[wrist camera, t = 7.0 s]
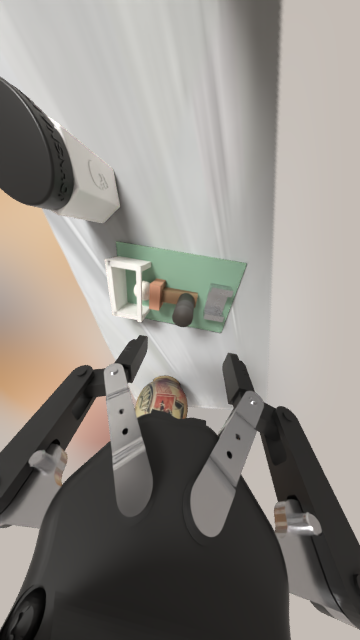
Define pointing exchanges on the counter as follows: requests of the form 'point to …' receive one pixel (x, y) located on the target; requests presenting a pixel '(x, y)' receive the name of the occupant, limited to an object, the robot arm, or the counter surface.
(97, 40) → the counter surface
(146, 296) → the ball
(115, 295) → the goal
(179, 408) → the ceramic jug
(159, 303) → the wooden peg with knob
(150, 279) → the pitch mat
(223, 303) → the bracket
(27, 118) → the jar
